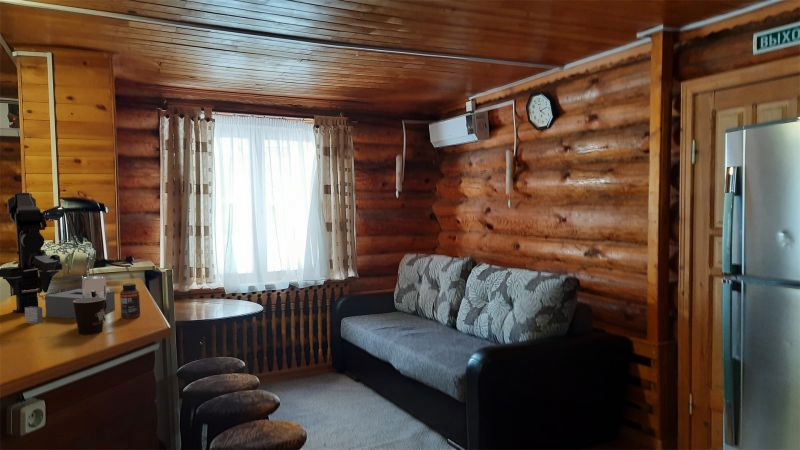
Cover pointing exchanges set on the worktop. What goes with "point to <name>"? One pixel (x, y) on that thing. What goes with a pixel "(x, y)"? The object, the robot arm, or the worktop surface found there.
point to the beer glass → (94, 288)
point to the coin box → (71, 303)
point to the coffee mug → (90, 314)
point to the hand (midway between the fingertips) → (32, 295)
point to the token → (33, 315)
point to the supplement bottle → (130, 301)
